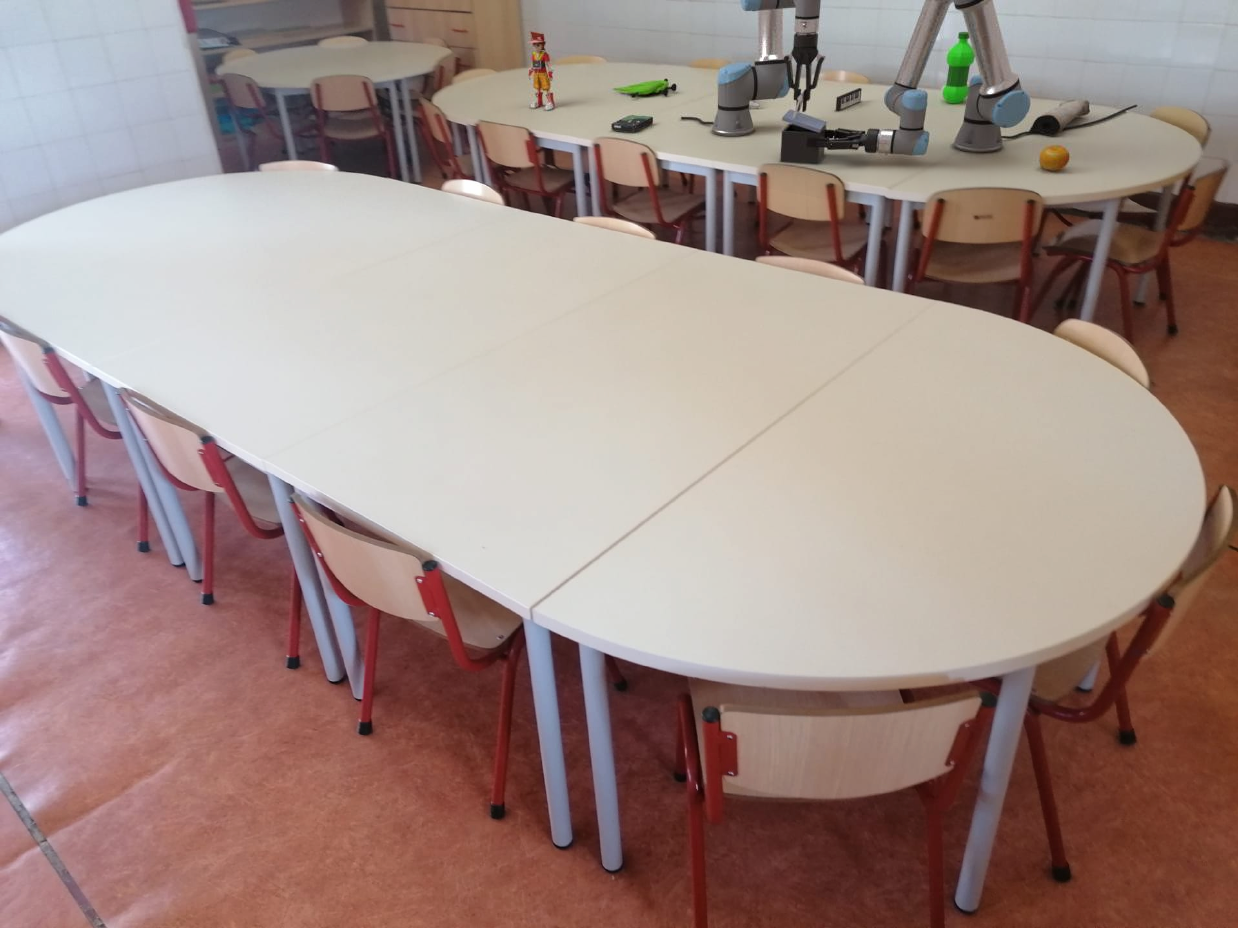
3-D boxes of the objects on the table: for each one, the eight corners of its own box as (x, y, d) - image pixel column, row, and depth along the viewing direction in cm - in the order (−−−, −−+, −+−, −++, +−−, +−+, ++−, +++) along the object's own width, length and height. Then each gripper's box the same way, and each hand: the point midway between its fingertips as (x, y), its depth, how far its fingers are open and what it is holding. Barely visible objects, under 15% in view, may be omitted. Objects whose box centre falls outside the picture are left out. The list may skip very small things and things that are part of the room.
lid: (781, 120, 295) (789, 94, 290) (788, 112, 302) (796, 87, 297) (819, 133, 293) (828, 107, 287) (825, 125, 300) (834, 100, 295)
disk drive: (634, 134, 341) (653, 123, 351) (633, 126, 339) (653, 116, 349) (611, 131, 346) (631, 121, 356) (610, 123, 344) (630, 114, 354)
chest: (780, 161, 303) (781, 131, 297) (787, 153, 310) (788, 123, 304) (817, 164, 298) (820, 133, 293) (823, 155, 306) (826, 125, 300)
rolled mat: (1057, 104, 331) (1081, 87, 323) (1070, 125, 332) (1095, 108, 324) (1024, 126, 314) (1049, 109, 306) (1039, 148, 314) (1064, 131, 306)
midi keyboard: (838, 111, 353) (839, 97, 350) (835, 110, 353) (836, 97, 350) (860, 101, 363) (861, 88, 360) (857, 101, 364) (859, 88, 361)
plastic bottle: (973, 101, 354) (984, 32, 339) (955, 106, 349) (966, 36, 335) (952, 97, 361) (962, 29, 346) (934, 102, 356) (944, 33, 342)
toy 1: (525, 109, 381) (517, 32, 364) (534, 104, 388) (527, 28, 371) (550, 110, 377) (543, 32, 360) (559, 105, 384) (553, 28, 367)
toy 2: (686, 85, 398) (631, 84, 414) (685, 72, 395) (629, 72, 411) (651, 104, 381) (596, 103, 397) (650, 92, 378) (594, 91, 394)
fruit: (1034, 160, 277) (1052, 137, 274) (1032, 163, 285) (1050, 140, 282) (1057, 176, 276) (1076, 152, 273) (1055, 178, 284) (1073, 155, 281)
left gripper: (780, 34, 282) (776, 112, 295) (826, 35, 277) (820, 115, 291) (786, 30, 288) (782, 107, 301) (831, 31, 283) (825, 109, 296)
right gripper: (871, 163, 285) (802, 158, 293) (882, 143, 302) (816, 140, 310) (874, 138, 281) (803, 135, 289) (885, 120, 298) (818, 117, 306)
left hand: (801, 110), depth 296 cm, fingers closed on lid, 1 cm apart
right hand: (810, 137), depth 299 cm, fingers closed on chest, 10 cm apart
